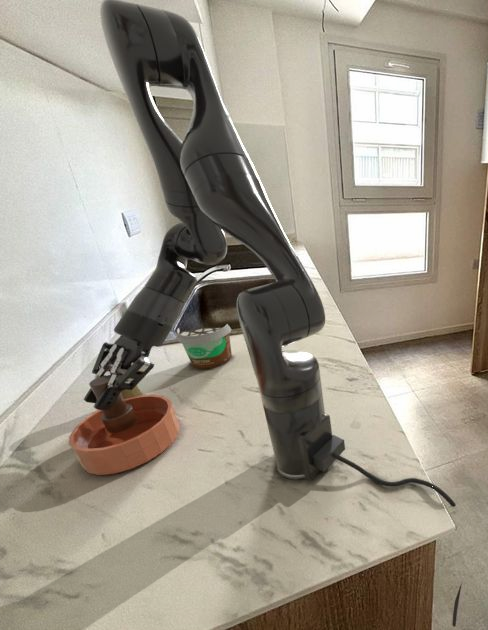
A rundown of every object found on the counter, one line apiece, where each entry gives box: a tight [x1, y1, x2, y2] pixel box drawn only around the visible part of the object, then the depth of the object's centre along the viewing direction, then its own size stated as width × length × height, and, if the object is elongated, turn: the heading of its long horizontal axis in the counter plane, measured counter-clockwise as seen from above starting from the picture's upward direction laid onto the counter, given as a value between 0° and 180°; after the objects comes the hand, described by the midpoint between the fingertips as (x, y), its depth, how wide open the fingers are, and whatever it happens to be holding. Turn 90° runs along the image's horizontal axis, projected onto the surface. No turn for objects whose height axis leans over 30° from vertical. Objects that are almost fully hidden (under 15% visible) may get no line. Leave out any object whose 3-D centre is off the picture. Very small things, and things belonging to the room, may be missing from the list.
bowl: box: [68, 394, 181, 476], centre depth 61 cm, size 14×14×6 cm
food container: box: [176, 323, 233, 370], centre depth 84 cm, size 12×6×10 cm, turn 105°
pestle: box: [88, 375, 137, 433], centre depth 59 cm, size 4×4×10 cm
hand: (96, 405), depth 57 cm, fingers closed on pestle, 3 cm apart
